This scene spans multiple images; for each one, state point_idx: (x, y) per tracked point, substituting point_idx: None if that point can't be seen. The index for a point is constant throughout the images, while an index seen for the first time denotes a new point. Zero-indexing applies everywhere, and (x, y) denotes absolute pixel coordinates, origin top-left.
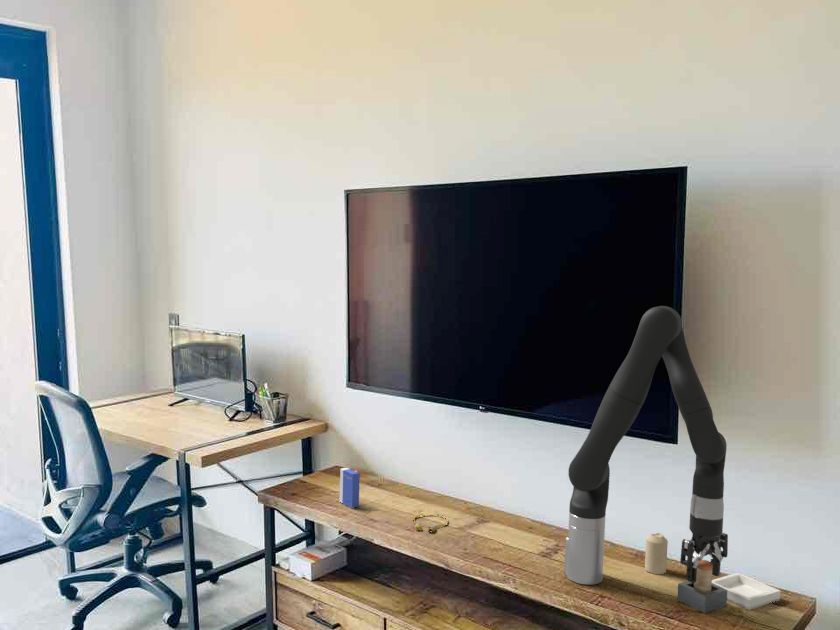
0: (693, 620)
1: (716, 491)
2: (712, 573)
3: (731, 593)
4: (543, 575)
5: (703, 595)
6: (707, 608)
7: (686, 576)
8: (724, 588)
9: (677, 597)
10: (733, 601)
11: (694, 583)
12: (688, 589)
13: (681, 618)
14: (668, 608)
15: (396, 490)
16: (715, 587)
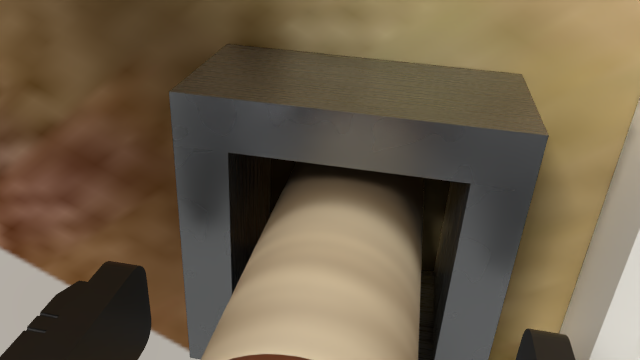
0: (91, 277)
1: None
2: (521, 355)
3: (587, 348)
4: None
5: (190, 342)
6: None
7: (51, 300)
8: (620, 299)
9: (219, 50)
10: (568, 324)
11: (260, 237)
12: (182, 206)
13: (38, 226)
14: (48, 100)
15: None
16: (439, 331)
